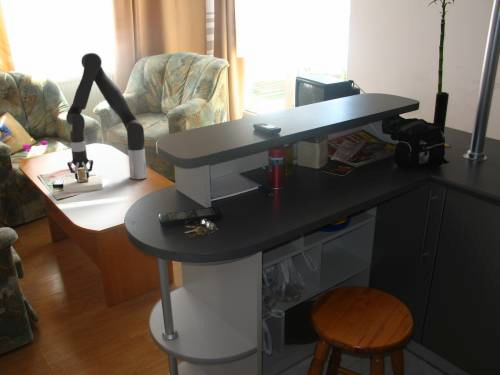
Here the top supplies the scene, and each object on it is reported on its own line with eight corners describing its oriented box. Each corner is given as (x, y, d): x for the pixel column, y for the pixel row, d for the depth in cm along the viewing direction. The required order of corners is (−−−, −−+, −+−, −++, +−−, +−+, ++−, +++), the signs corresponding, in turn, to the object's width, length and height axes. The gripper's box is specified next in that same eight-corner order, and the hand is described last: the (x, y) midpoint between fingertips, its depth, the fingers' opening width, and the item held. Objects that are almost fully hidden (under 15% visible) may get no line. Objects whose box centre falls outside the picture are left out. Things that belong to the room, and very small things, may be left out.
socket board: (100, 180, 285) (100, 175, 284) (102, 189, 271) (102, 183, 270) (64, 183, 279) (63, 178, 278) (64, 193, 265) (63, 187, 264)
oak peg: (87, 185, 278) (85, 168, 274) (87, 187, 274) (85, 170, 271) (79, 185, 276) (77, 168, 273) (79, 188, 273) (77, 170, 269)
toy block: (28, 157, 331) (27, 146, 328) (24, 155, 335) (22, 145, 332) (50, 153, 341) (48, 142, 339) (45, 151, 345) (44, 140, 343)
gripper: (92, 146, 274) (95, 175, 279) (64, 148, 269) (68, 178, 275) (92, 149, 267) (96, 179, 273) (64, 152, 262) (68, 182, 268)
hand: (82, 179), depth 274 cm, fingers open, 4 cm apart
